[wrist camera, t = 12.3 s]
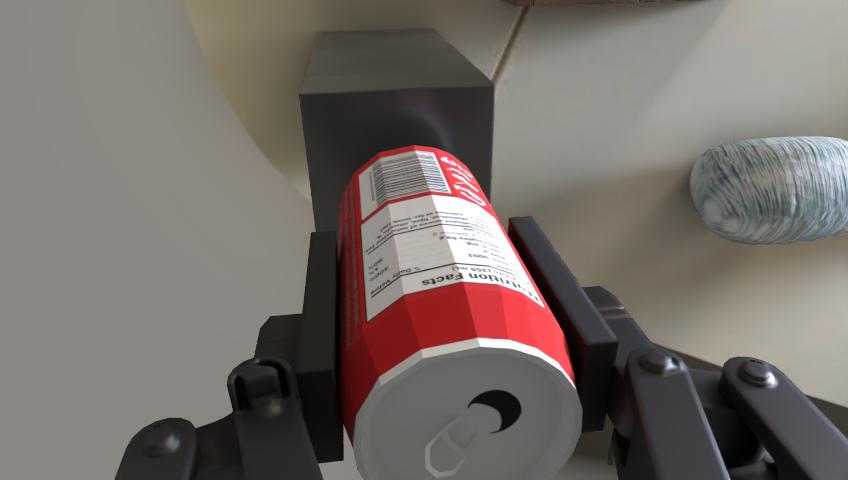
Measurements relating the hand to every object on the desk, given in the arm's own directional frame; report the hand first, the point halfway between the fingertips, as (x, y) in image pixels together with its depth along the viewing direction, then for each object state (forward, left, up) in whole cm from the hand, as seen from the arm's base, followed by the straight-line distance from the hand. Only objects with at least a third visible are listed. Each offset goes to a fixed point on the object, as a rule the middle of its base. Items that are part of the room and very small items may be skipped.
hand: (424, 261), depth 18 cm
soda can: (0, 0, -5) cm, 5 cm away
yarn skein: (+31, -8, -25) cm, 41 cm away
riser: (0, 0, -25) cm, 25 cm away
